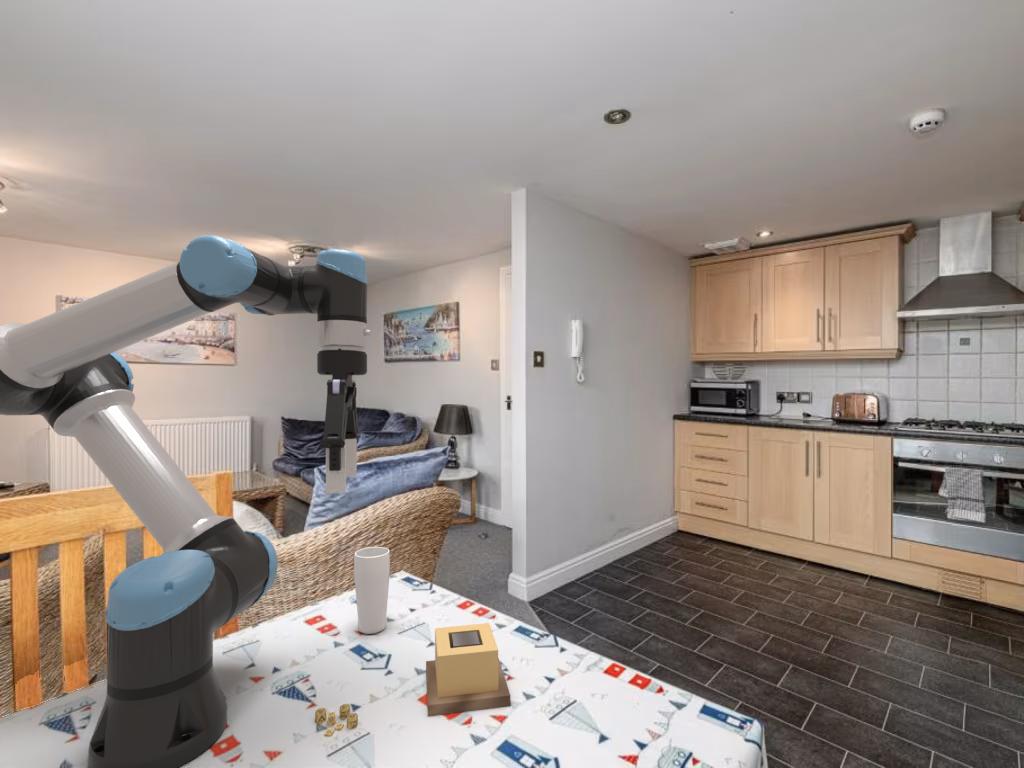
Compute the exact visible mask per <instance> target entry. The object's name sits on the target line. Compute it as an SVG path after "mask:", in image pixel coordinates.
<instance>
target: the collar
mask: <svg viewBox="0 0 1024 768" xmlns="http://www.w3.org/2000/svg"><path fill="white" fill-rule="evenodd" d="M467 632H477V635H478V639H479V643H480V645H477V646H467V647H457V648H452V634H456V633H467ZM498 658H499V648H498V645H497V642H496V639H495V635H494V633H493V631H492V627H491V624H490V623H489V622H486V623H484V622H483V623H477V624H464V625H454V626H444V627H443V626H442V627H435V628H434V660H435V669H436V681H437V694H438V698H439V697H447V696H456V695H464V694H472V693H481V692H489V691H497V690H498Z"/></svg>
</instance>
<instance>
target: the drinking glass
mask: <svg viewBox="0 0 1024 768" xmlns="http://www.w3.org/2000/svg"><path fill="white" fill-rule="evenodd" d="M390 551H391V550H390V549H389V548H387V547H384V546H383V547H382V546H370V547H364V548H361V549H358V550H356V551H355V553H354V557H353V558H354V559H353V574H354V575H353V579H354V588H355V597H356V599H355V600H356V609H357V629H358V631H359V632H360V633H362V634H365V635H372V634H378V633H380V632H382V631H383V630H385V629H386V627H387V611H388V600H389V597H388V596H389V588H390V587H389V585H390V578H391V577H390V575H391V555H390V553H391V552H390Z"/></svg>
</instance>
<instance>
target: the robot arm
mask: <svg viewBox="0 0 1024 768" xmlns="http://www.w3.org/2000/svg"><path fill="white" fill-rule="evenodd" d="M179 257H180V258H179V261H177V262H175V263H173V264H170V265H168V266H165V267H163V268H160V269H158V270H155V271H153V272H151V273H148V274H146V275H143V276H141V277H139V278H136V279H134V280H132V281H129V282H127V283H124V284H121V285H119V286H117V287H115V288H112V289H109V290H107V291H105V292H102V293H99V294H97V295H94V296H92V297H90V298H88V299H85V300H83V301H80V302H77V303H75V304H73V305H70V306H67V307H65V308H64V309H61V310H59V311H56V312H53V313H51V314H48V315H45V316H44V317H41V318H39V319H36V320H34V321H31V322H30V323H21V322H20V323H19V322H10V323H5V324H2V325H0V416H1V415H2V416H31V415H32V416H37V415H38V416H39V415H40V416H42V417H43V418H44V420H45V421H46V422H47V423H48V425H49V426H50V427H51V429H53V431H54V432H55V434H57V435H59V436H62V437H72V438H75V440H76V441H77V442H78V443H79V445H80V446H81V447H82V449H83V450H84V451H85V452H86V453H87V455H88V456H89V457H90V459H91V460H92V461H93V462H94V464H95V465H96V466H97V467H98V469H99V470H100V472H102V474H103V476H104V477H106V479H107V481H109V483H110V484H111V485H112V487H113V488H114V490H115V491H116V492H117V494H119V495H120V497H121V498H122V499H123V501H124V502H125V503H126V504H127V505H128V507H129V508H130V510H131V511H132V512H133V513H134V515H135V516H136V517H137V518H138V520H139V521H140V522H141V523H142V525H143V526H144V527H145V529H147V531H148V532H149V533H150V535H151V536H152V538H153V539H154V540H155V541H156V543H157V544H158V545H159V546H160V547H161V548H162V550H163V553H161V555H160V554H159V555H157V556H153V555H152V556H149V557H147V558H144V559H141V560H140V561H138V562H135V563H134V564H131V565H130V566H128V567H126V568H125V569H123V570H122V571H121V572H119V573H118V574H117V575H116V576H115V577H114V578H113V581H112V582H110V583H111V584H110V586H109V589H108V596H107V605H106V607H105V613H104V614H105V615H104V616H105V620H106V621H105V622H106V699H105V700H104V702H103V706H102V709H101V711H100V715H99V716H98V720H97V722H96V724H95V728H94V730H93V733H92V736H91V739H90V742H89V746H88V758H87V759H88V762H87V763H88V765H87V766H89V767H88V768H178V767H180V766H182V765H185V764H186V763H188V762H190V761H191V760H194V759H195V758H196V757H199V755H200V756H201V754H203V753H204V752H205V751H207V750H208V749H209V748H211V746H213V744H215V743H216V742H217V740H219V738H220V737H221V735H222V734H223V733H224V731H225V729H226V727H227V723H228V705H227V700H226V696H225V695H224V692H223V689H222V687H221V685H220V682H219V680H218V678H217V675H216V672H215V670H214V664H213V662H214V661H213V660H214V659H213V658H214V657H213V654H214V653H213V651H214V633H215V632H217V631H218V630H219V629H221V628H222V627H223V626H225V625H226V624H227V623H229V622H230V621H232V620H233V619H234V618H236V617H237V616H239V615H240V614H241V613H243V612H244V611H245V610H248V609H250V608H252V607H253V606H254V605H255V604H256V603H257V602H259V601H260V600H261V598H262V597H263V596H265V595H266V594H267V592H268V591H270V589H271V587H272V586H273V584H274V583H275V580H276V577H277V571H278V568H279V566H278V565H279V562H278V556H277V552H276V549H275V547H274V545H273V543H272V542H271V540H270V539H269V538H267V536H265V535H263V534H262V533H260V532H257V531H256V532H254V531H251V530H244V529H243V528H242V527H241V526H240V525H239V524H238V522H237V521H236V520H235V518H233V516H225V515H218V514H217V513H216V512H215V511H214V509H213V508H212V507H211V506H210V504H209V503H208V502H207V501H206V500H205V498H204V497H203V495H202V494H201V493H200V492H199V491H198V489H197V488H196V487H195V485H194V484H193V483H192V481H191V480H190V479H189V478H188V477H187V475H186V474H185V473H184V471H182V469H181V468H180V467H179V465H178V464H177V463H176V461H174V459H173V458H172V457H171V455H170V454H169V453H168V452H167V450H166V449H165V448H164V447H163V445H162V444H161V443H160V442H159V440H158V438H156V436H155V435H154V434H153V433H152V431H150V429H149V428H148V427H147V425H146V424H145V423H144V422H143V420H142V419H141V418H140V416H139V415H138V414H137V413H136V411H135V410H134V409H133V406H134V403H135V400H136V395H135V393H133V391H134V383H132V380H134V375H133V371H132V369H131V367H130V365H129V364H128V362H127V361H126V360H125V358H123V357H122V356H121V355H120V354H119V353H117V351H120V350H122V349H125V348H127V347H129V346H132V345H134V344H137V343H140V342H142V341H144V340H147V339H149V338H151V337H154V336H156V335H158V334H159V335H160V334H161V333H164V332H166V331H168V330H172V329H173V328H176V327H179V326H181V325H184V324H186V323H188V322H191V321H193V320H196V319H197V318H201V317H203V316H205V315H208V314H211V313H214V312H217V311H219V310H221V309H223V308H226V307H229V306H231V305H234V304H240V305H241V306H243V307H244V310H246V312H248V313H250V314H253V315H267V316H275V315H295V314H310V315H311V314H316V316H317V318H316V319H317V322H316V347H317V348H320V351H318V352H317V355H316V357H317V358H316V360H317V361H316V365H317V366H316V367H317V368H316V371H317V374H319V375H321V376H331V379H327V382H326V387H327V388H326V389H327V391H326V393H327V395H326V403H325V405H326V407H325V416H324V418H325V419H324V430H323V439H322V441H319V448H320V449H325V494H326V495H327V494H344V493H347V478H357V468H358V467H357V456H358V455H357V447H358V446H357V445H358V444H357V441H358V440H357V439H361V437H362V433H361V431H359V428H358V416H357V393H358V390H357V384H356V381H355V380H354V381H353V376H365V375H366V374H367V373H368V354H367V353H366V351H363V350H364V349H366V348H367V346H368V345H367V343H368V340H367V337H366V336H369V337H370V336H371V335H372V332H371V329H367V327H368V326H367V323H368V319H367V316H368V315H367V313H368V311H367V310H368V309H367V308H368V285H369V283H368V275H367V274H368V273H367V261H366V259H365V257H364V256H362V255H361V254H360V253H358V252H355V251H353V250H346V249H339V248H338V249H337V248H333V249H332V248H331V249H327V250H322V251H320V252H319V253H318V254H317V258H316V261H315V265H305V266H303V265H302V266H300V265H299V266H298V265H297V266H294V265H293V266H292V265H290V266H288V265H283V264H281V263H279V262H277V261H275V260H273V259H271V258H268V257H266V256H264V255H261V254H259V253H257V252H256V251H254V250H251V249H249V248H248V247H246V246H245V245H243V244H241V243H239V242H237V241H234V240H231V239H228V238H224V237H221V236H219V235H215V234H214V235H213V234H207V235H205V234H204V235H201V236H197V237H195V238H193V239H191V240H190V241H189V244H188V245H186V247H185V248H183V250H182V252H181V254H180V256H179Z"/></svg>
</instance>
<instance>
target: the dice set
mask: <svg viewBox="0 0 1024 768" xmlns="http://www.w3.org/2000/svg"><path fill="white" fill-rule="evenodd" d="M338 711H339V714H338V715H339V718H340V720H346V728H347V729H348V730H353V729H355V728H357V727H358V724H359V715H358V713H356V712H355V713H353V712H352V713H351V704H349V703H343V704H342V705H341V704H340V706H339V710H338ZM314 719H315V721H314V722H315V723H316V724H323V723H324V722H326V724H327V725H328V727H332V726H334V725H335V727H333V729H330V728H327V730H326V731H325V732H323V733H324V734H323V736H324V737H327V738H328V737H329V738H330V737H333V734H335V731H339V732H340V731H342V730H343V729H344V727H345V723H337V720H336V711H330V712H327V708H326V707H321V708H318V709H316V710H315V712H314Z"/></svg>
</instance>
